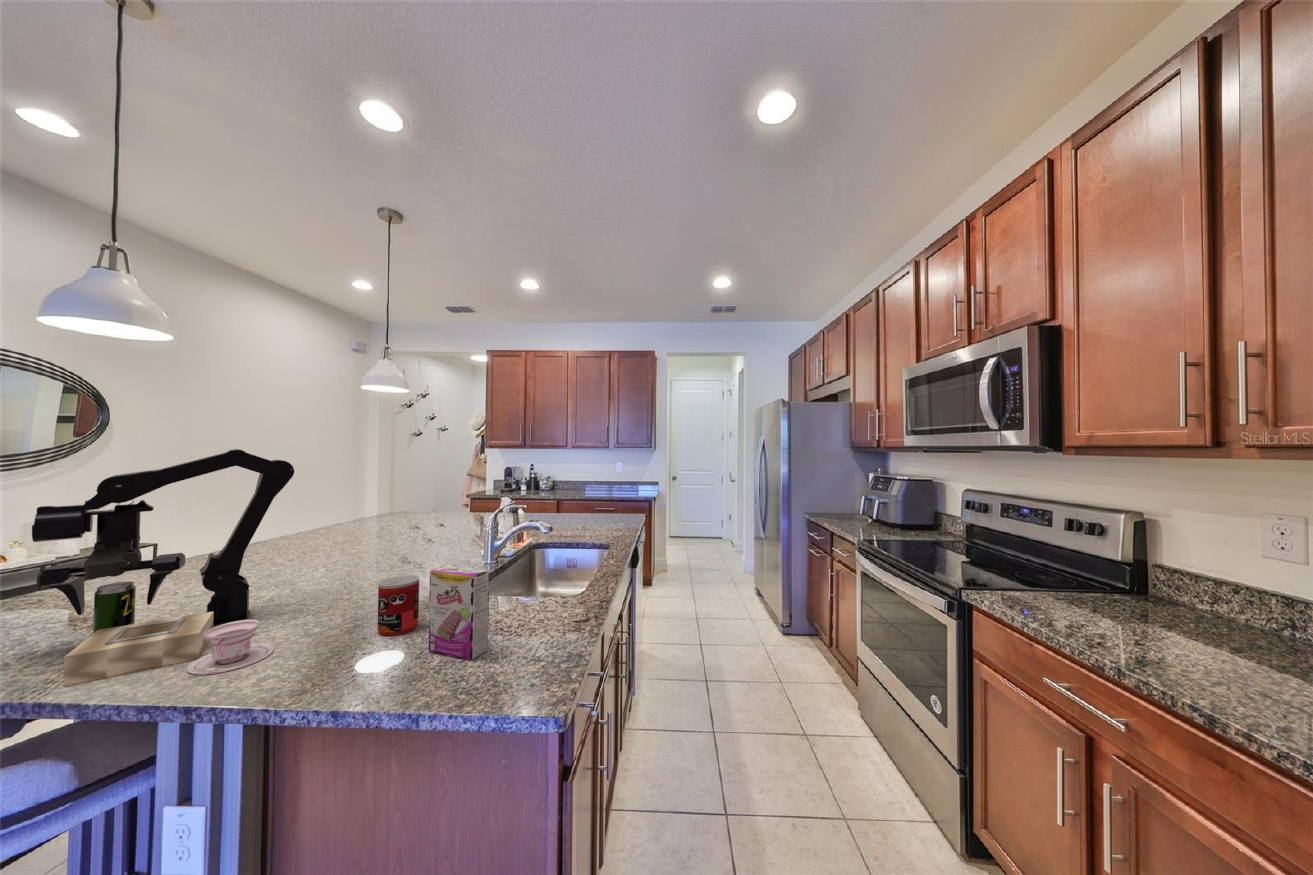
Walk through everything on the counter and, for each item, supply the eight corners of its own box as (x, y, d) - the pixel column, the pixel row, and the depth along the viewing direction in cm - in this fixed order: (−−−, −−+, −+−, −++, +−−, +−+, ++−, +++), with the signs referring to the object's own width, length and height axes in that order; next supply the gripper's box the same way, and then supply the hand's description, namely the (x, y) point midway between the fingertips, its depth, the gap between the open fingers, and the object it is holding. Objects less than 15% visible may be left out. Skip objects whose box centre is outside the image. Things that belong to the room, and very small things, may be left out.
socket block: (213, 634, 94) (213, 609, 94) (198, 658, 83) (199, 631, 83) (97, 655, 84) (98, 628, 84) (63, 686, 73) (64, 655, 73)
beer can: (86, 651, 86) (88, 591, 86) (100, 641, 90) (102, 583, 91) (127, 644, 89) (129, 586, 89) (138, 635, 93) (140, 579, 94)
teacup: (209, 652, 86) (210, 621, 86) (284, 642, 91) (285, 612, 91) (169, 682, 75) (171, 646, 75) (257, 668, 80) (258, 635, 80)
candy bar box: (426, 653, 86) (428, 570, 86) (446, 642, 90) (447, 564, 91) (471, 662, 82) (472, 575, 83) (489, 650, 87) (490, 569, 87)
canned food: (369, 633, 95) (370, 583, 95) (402, 620, 102) (403, 573, 103) (393, 639, 92) (394, 587, 92) (425, 625, 99) (426, 577, 100)
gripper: (22, 547, 78) (18, 634, 78) (173, 535, 90) (171, 610, 89) (52, 537, 87) (49, 615, 87) (186, 527, 99) (184, 596, 98)
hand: (116, 609), depth 90 cm, fingers open, 9 cm apart
